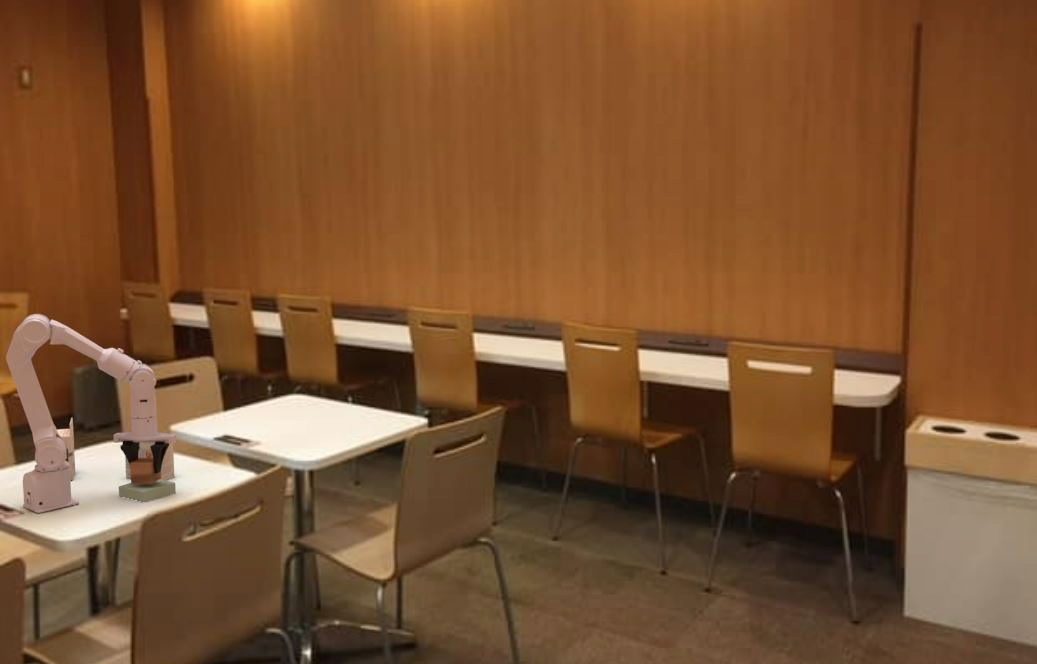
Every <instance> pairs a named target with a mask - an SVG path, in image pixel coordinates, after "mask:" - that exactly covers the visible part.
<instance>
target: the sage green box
mask: <svg viewBox="0 0 1037 664" xmlns="http://www.w3.org/2000/svg"><path fill="white" fill-rule="evenodd" d="M176 488H177V487H176V482H174V481H170V480H169V481H168V480H161V479H159V480H157V481H156V482H154V483H153V484H131V482H129V483H126V484H122V485H119V486H118V497H119V496H120V497H119V498H122V497H125V498H124V499H126V498H129V499H128V500H130V499H133V500H132V501H134V500H137V501H136V502H139V501H141V502H140V503H143V502H146V503H148V502H147V501H149V502H151V501H150V500H152V501H155V500H158V499H161V498H165V497H168V496H171V495H174V494H176V493H177V492H176ZM154 499H155V500H154Z"/></svg>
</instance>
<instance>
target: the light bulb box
mask: <svg viewBox="0 0 1037 664" xmlns="http://www.w3.org/2000/svg"><path fill="white" fill-rule="evenodd" d="M154 444H155V443H142V442H140V445H139V454H138V458H153V456H152V451H151V448H150V446H152V445H154ZM124 456H125V455H124ZM174 458H175V453H174V443H173V444H169V447H168V449H167V451H166V453H165V456H164V459H163V462H162V467H161V480H166V481H168V480H171V479H174V478H175V477H176V476H175V459H174ZM124 459H125V478H126V479H130V480H131V471H130V465H129V462H128V460H127V458H126V456H125V458H124Z"/></svg>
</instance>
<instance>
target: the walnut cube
mask: <svg viewBox="0 0 1037 664" xmlns="http://www.w3.org/2000/svg"><path fill="white" fill-rule="evenodd" d="M130 471H131V479H130V483H131V484H153V483H154V482H156V481H157V480H159V479H161V472H159V473H157V474H156V473H154V465H153V458H138V459H137V460H135V461H133V462H131V463H130Z"/></svg>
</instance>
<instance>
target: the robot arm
mask: <svg viewBox="0 0 1037 664" xmlns="http://www.w3.org/2000/svg"><path fill="white" fill-rule="evenodd" d="M49 340H50V342H49V345H65V346H67V347H69V348H71V349H73V350H75V351H77V352H79V353H80V354H82V355H85V356H86V357H88V358H91V359H92V360H94V361H96V363H97V367H98V370H100V371H103V372H104V373H106V374H107V375H109V376H111V377H113V378H115V379H116V380H118V381H119V382H122V383H128V385H129V388H130V398H129V402H130V422H131V423H130V424H131V425H130V426H131V432H117V433H115V434H113V443H116V444H117V443H122V444H121V445H120V447H119V448H120V450H121V452H123V454H124V456H126V458H127V460H128V462H129V465H130V463H131V462H133V461H135V460H137V459H138V454H139V445H140V442H142V443H155V444H154V445H152V446H150V448H151V451H152V456H153V465H154V473H156V474H157V473H159V472H161V467H162V462H163V459H164V456H165V453H166V451H167V449H168V447H169V444H173V445H174V444H175V443H177V434H175V433H173V434H172V433H165V432H158V418H157V417H158V415H157V413H158V411H157V396H156V389H155V386H156V384H157V379H156V376H155V373H154V371H153V369H152V368H150V366H148V364H145V363H143V362H142V361H141V360H139V359H138V360H135V359H134V358H132V357H131V356H129V355H127V354H124V350H123V349H122V348H119V347H118V348H117V349H116V348H114V347H109V348H103V347H102V346H100V345H98V344H97V343H95V342H94V341H92V340H90V339H88V338H87V337H85V336H84V335H81V334H80V333H79V332H77V331H76V330H74V329H72V328H70V327H69V326H67V325H66V324H63V323H61V322H59V321H57V320H54V319H51V320H50V319H49V318H48V316H46V315H43V314H42V313H41V314H40V313H34V314H30V315H28V316H27V317H25V318H24V319H23V321H22V322H21V323H20V324H19V325H18V327H17V328H16V330H15V331H14V333H13V336H12V338H11V341H10V345H9V347H8V351H7V353H6V356H5V358H6V359H5V360H6V363H7V366H8V369H9V371H10V375H11V378H12V380H13V383H14V385H15V388H16V391H17V394H18V397H19V399H20V402H21V405H22V409H23V411H24V413H25V416H26V418H27V422H28V425H29V427H30V430H31V434H32V438H33V439H32V440H33V444H34V447H35V453H34V461H35V463H36V464H35V465H34V469H33V470H32V471H28V472H25V473H24V474H23V476H22V477H23V478H22V489H23V490H22V491H23V504H22V506H23V508H26V509H28V510H30V511H32V512H35V513H37V514H39V513H40V514H41V513H44V512H49V511H54V510H57V509H58V510H59V509H62V508H66V507H71V506H74V505H79V504H80V501H78V500H76V499H74V498H73V497H72V486H71V481H70V466H69V463H68V462H67V461H66V460H65V459H66V451H67V444H66V442H65V440H64V439H63V438H62V437H61V436H60V435H59V434H58V432H57V430H58V429H57V427H56V425H55V424H54V421H53V418H52V416H51V413H50V410H49V407H48V404H47V401H46V399H45V398H46V397H45V396H44V393H43V390H42V388H41V385H40V382H39V379H38V376H37V373H36V370H35V367H34V365H33V361H32V358H34V355H35V353H36V352H37V350H38V349H39V348H40V347H42V346H43V345H44V344H45V343H47V342H48V341H49Z"/></svg>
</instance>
